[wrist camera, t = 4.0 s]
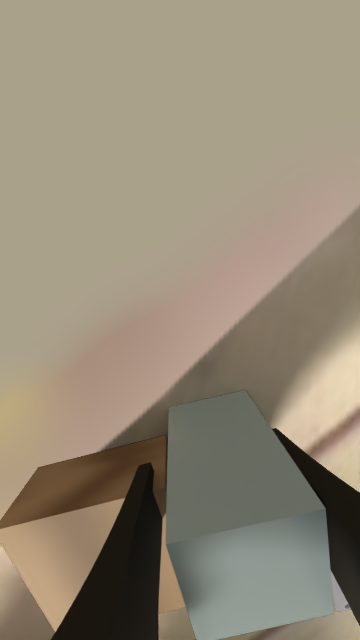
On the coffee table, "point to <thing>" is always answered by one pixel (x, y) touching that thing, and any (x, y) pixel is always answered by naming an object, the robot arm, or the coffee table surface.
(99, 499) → the block
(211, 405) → the pale blue cube
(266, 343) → the coffee table surface
